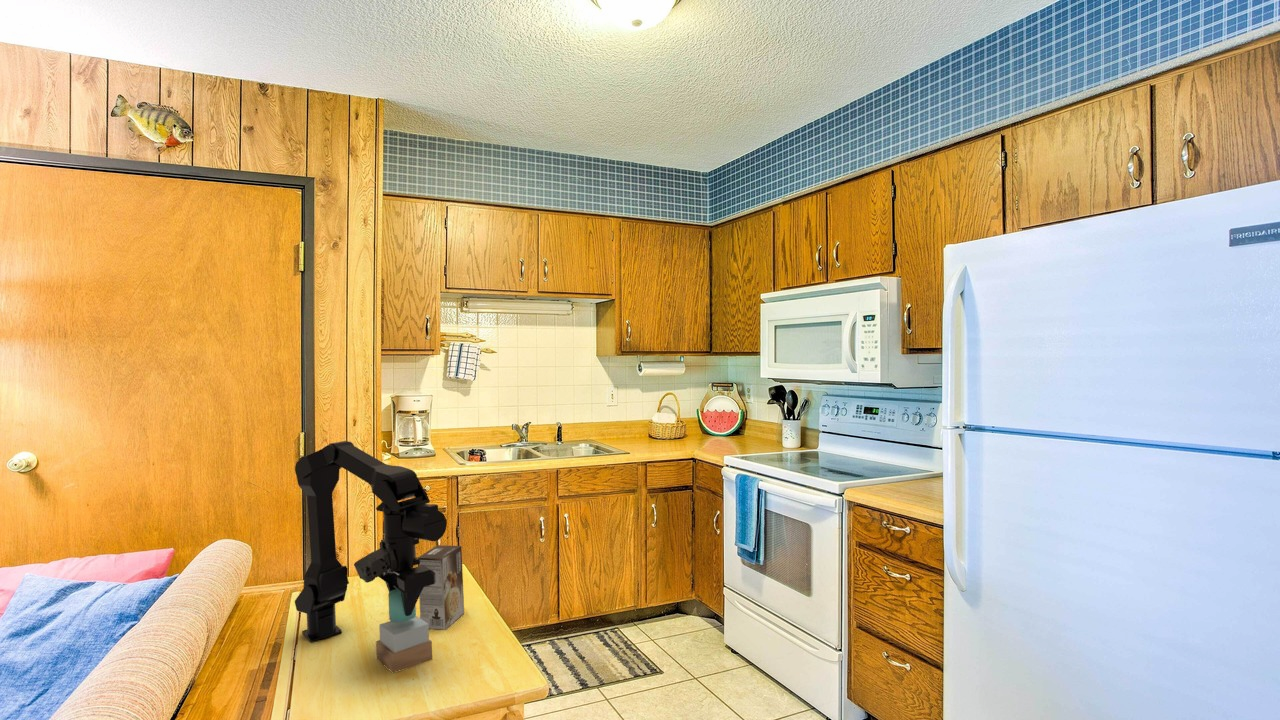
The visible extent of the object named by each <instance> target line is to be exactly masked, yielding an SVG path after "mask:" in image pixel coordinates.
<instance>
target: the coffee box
mask: <svg viewBox="0 0 1280 720" xmlns="http://www.w3.org/2000/svg"><path fill="white" fill-rule="evenodd" d="M462 547H463V546H462V545H442V544H441V545H439V544H438V545H436V546H434V547H432V548H431V549H429V550H427V551H426V552H424V553H422V554H421V555H419V556H418V557H417V558H419V559H420V564H418V565H417V567H419V566H425V567H427V568H429V569H430V570H432V571H433V572H435V577H436V583H435V584H432V585H429V586H425V587H424V588H423V590H422V592H421V594H420V596H419V598H418V601H419V618H420V619H421V620H423V621H425V622H426V623H428V628H429V629H430V630H431V629H433V630H448V629H449V627H450V626H451V625H453V623H455V622H456V621H457V620H458V619H459V618H460V617H462V616H463V615H464V614H465V600H464V598H465V597H464V596H465V595H464V574H463V556H462V555H463V553H462V552H463V551H462Z"/></svg>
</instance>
